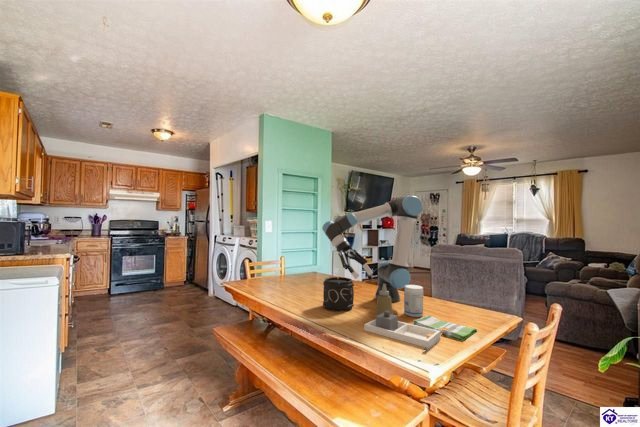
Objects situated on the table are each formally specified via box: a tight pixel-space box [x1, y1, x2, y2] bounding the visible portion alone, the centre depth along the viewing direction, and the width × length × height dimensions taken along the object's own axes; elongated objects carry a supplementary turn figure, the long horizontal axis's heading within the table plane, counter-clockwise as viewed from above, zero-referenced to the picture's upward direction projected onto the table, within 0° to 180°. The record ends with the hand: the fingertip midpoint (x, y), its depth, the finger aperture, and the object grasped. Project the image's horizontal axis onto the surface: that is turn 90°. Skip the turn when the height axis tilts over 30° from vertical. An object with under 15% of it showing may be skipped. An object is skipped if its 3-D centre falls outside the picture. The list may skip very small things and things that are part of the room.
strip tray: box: [363, 318, 441, 351], centre depth 127 cm, size 14×28×4 cm, turn 50°
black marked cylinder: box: [322, 276, 355, 313], centre depth 169 cm, size 18×18×16 cm
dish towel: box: [412, 314, 478, 342], centre depth 136 cm, size 17×23×4 cm
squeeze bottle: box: [375, 284, 394, 316], centre depth 147 cm, size 8×8×18 cm
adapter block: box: [375, 311, 399, 331], centre depth 132 cm, size 7×7×8 cm
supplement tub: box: [403, 284, 424, 318], centre depth 157 cm, size 10×10×15 cm
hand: (364, 275), depth 154 cm, fingers open, 13 cm apart
